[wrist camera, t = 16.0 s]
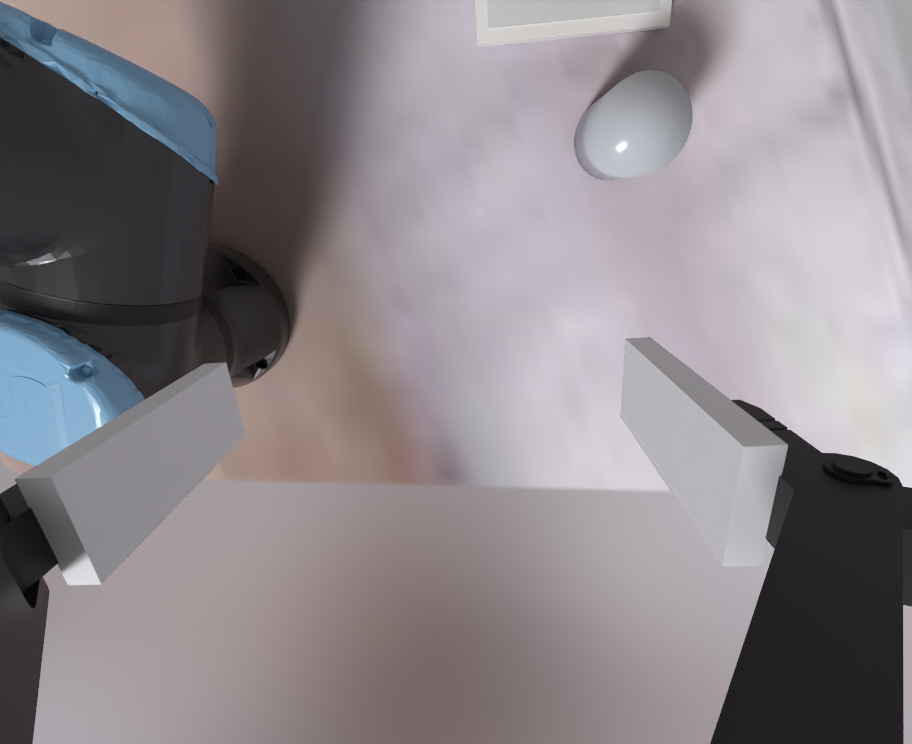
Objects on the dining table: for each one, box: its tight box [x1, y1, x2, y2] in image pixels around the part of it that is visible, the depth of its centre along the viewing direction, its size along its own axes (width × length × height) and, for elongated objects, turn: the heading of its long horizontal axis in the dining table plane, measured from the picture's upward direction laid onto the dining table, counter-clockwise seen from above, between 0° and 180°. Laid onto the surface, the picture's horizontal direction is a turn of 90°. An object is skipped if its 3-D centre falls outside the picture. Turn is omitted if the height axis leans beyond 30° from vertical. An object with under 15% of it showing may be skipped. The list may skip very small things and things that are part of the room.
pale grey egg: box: [574, 70, 692, 180], centre depth 37 cm, size 7×7×8 cm
